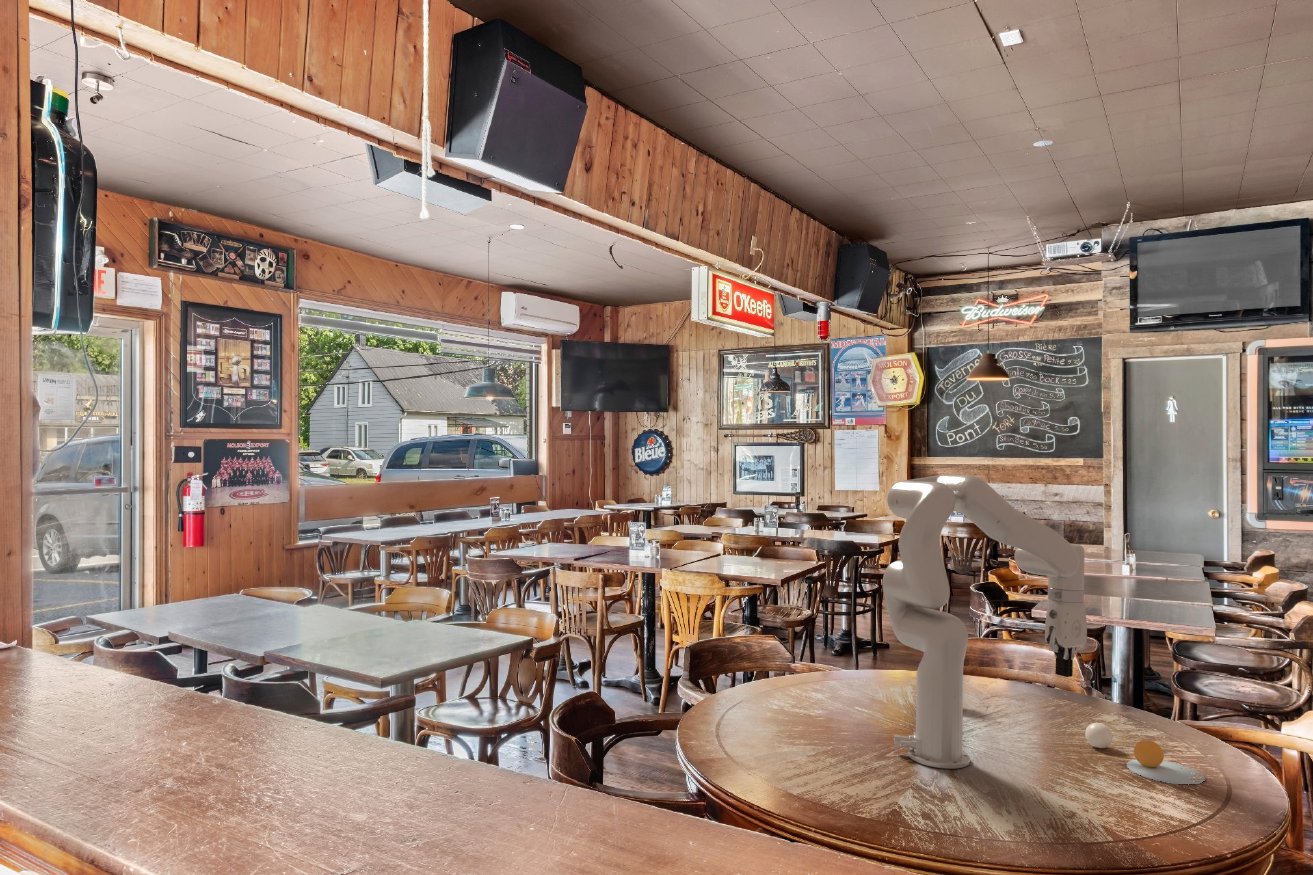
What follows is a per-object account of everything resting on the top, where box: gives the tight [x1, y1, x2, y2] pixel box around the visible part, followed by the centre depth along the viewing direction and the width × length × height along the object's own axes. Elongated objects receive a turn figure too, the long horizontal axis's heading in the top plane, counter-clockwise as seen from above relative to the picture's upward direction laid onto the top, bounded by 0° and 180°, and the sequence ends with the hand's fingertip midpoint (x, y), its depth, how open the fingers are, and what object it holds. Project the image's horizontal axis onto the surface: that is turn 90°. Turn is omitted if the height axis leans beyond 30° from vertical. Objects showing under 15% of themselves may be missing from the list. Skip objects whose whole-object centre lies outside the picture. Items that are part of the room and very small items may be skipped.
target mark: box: [1126, 758, 1206, 786], centre depth 172 cm, size 14×14×1 cm
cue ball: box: [1084, 722, 1113, 749], centre depth 187 cm, size 6×6×6 cm
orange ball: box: [1133, 739, 1165, 767], centre depth 175 cm, size 6×6×6 cm
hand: (1063, 675), depth 191 cm, fingers closed
